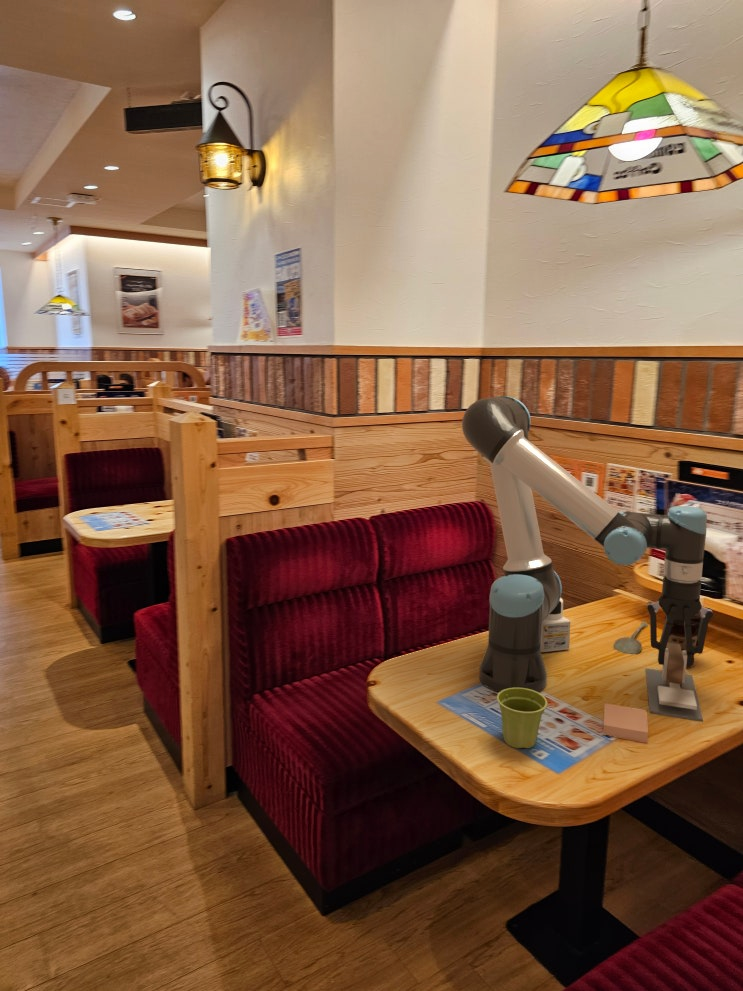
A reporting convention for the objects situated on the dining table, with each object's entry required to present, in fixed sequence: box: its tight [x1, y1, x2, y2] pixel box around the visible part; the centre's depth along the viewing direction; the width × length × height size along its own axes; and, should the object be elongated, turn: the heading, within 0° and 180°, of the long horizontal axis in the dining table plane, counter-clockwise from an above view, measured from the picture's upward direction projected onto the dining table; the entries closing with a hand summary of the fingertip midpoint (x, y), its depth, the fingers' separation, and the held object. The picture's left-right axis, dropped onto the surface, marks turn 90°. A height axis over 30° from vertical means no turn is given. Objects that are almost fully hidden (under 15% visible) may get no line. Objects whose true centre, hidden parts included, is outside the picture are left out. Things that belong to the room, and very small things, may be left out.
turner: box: [658, 643, 697, 710], centre depth 146 cm, size 7×20×6 cm, turn 160°
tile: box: [602, 703, 649, 743], centre depth 133 cm, size 8×2×9 cm
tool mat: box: [645, 667, 704, 722], centre depth 147 cm, size 10×21×1 cm, turn 160°
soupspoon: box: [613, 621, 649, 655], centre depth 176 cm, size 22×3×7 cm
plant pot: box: [496, 688, 548, 749], centre depth 128 cm, size 9×9×9 cm
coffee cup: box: [664, 611, 701, 668], centre depth 161 cm, size 9×8×13 cm
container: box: [540, 597, 571, 653], centre depth 171 cm, size 8×8×13 cm
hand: (673, 678), depth 149 cm, fingers closed on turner, 3 cm apart
